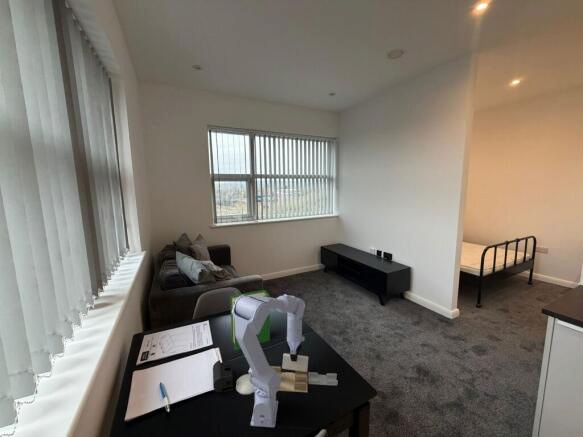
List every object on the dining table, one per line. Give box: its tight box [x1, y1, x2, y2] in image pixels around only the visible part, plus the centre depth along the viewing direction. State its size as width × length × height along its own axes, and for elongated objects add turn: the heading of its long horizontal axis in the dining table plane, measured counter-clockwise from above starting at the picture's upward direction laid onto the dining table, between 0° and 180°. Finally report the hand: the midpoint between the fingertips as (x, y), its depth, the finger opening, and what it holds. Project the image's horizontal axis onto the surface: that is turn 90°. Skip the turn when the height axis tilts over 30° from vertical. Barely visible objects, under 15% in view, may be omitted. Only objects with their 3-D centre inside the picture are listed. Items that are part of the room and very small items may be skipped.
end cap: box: [212, 359, 234, 394], centre depth 96 cm, size 10×7×7 cm
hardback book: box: [230, 289, 271, 352], centre depth 121 cm, size 18×7×24 cm, turn 116°
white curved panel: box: [281, 353, 309, 373], centre depth 97 cm, size 2×10×6 cm, turn 86°
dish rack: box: [269, 365, 308, 393], centre depth 96 cm, size 9×16×4 cm, turn 86°
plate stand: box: [307, 371, 339, 386], centre depth 98 cm, size 5×12×2 cm, turn 86°
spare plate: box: [235, 373, 255, 395], centre depth 96 cm, size 9×9×1 cm
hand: (294, 358), depth 97 cm, fingers closed on white curved panel, 2 cm apart
